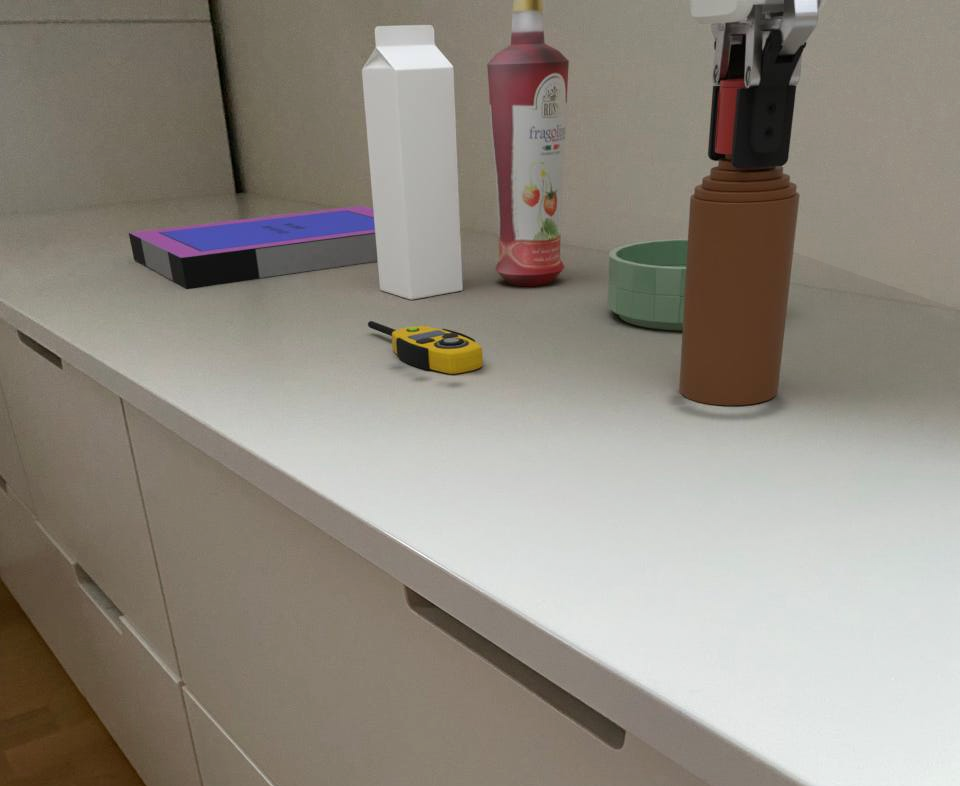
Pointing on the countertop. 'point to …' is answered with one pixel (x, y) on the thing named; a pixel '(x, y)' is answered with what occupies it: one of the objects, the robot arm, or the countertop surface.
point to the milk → (413, 162)
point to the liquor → (528, 148)
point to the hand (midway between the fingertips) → (746, 159)
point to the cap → (726, 115)
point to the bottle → (737, 284)
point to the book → (258, 246)
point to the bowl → (649, 283)
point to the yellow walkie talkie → (434, 348)
